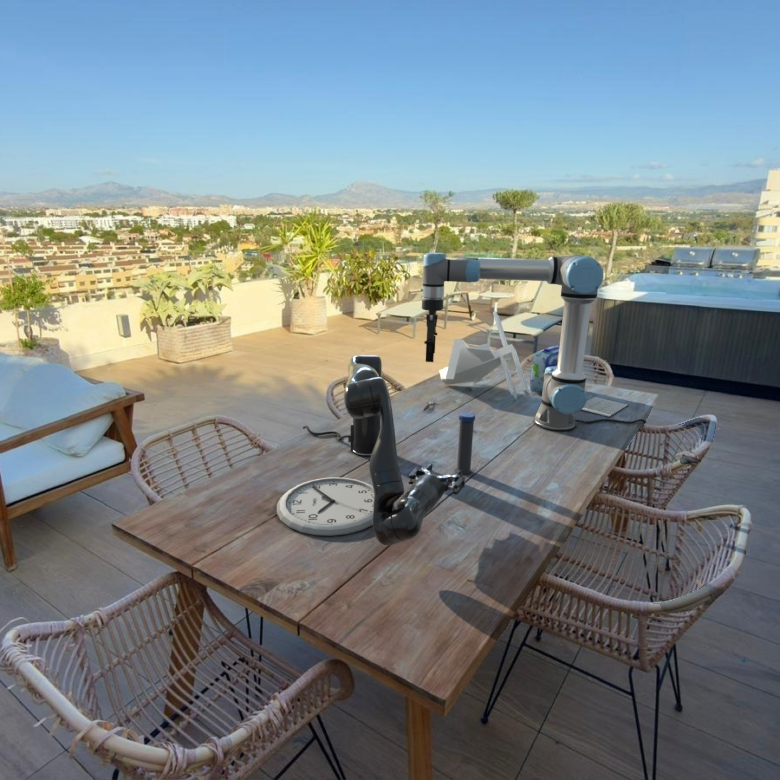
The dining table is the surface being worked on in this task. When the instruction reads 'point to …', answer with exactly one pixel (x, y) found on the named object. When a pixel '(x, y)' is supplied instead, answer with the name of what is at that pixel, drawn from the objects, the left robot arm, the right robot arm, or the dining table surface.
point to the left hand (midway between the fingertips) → (445, 469)
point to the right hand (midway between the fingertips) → (430, 357)
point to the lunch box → (542, 367)
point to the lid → (467, 417)
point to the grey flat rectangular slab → (603, 406)
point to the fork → (430, 403)
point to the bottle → (465, 447)
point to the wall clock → (328, 506)
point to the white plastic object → (482, 362)
